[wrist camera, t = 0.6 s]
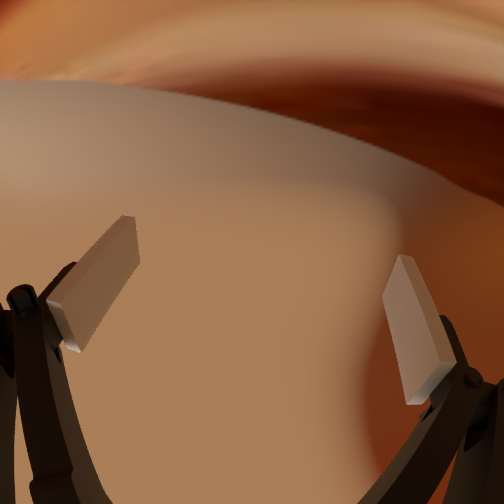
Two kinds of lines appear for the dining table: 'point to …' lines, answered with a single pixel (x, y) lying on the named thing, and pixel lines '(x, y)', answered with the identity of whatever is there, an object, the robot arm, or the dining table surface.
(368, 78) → the dining table surface
